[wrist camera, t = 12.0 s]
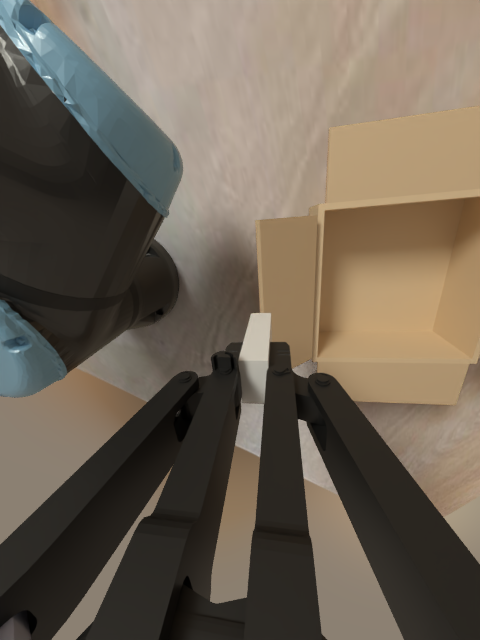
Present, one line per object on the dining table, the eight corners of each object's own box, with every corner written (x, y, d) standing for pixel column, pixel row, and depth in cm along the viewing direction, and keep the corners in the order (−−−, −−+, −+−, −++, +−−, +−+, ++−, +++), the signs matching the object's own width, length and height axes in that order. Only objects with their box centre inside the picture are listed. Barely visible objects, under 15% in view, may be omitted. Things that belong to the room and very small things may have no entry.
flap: (308, 356, 29) (263, 378, 26) (312, 215, 23) (255, 220, 20) (311, 358, 29) (267, 380, 25) (317, 215, 23) (259, 220, 19)
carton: (304, 366, 39) (310, 399, 32) (310, 152, 28) (321, 128, 21) (425, 368, 36) (462, 405, 29) (486, 129, 25) (570, 92, 18)
